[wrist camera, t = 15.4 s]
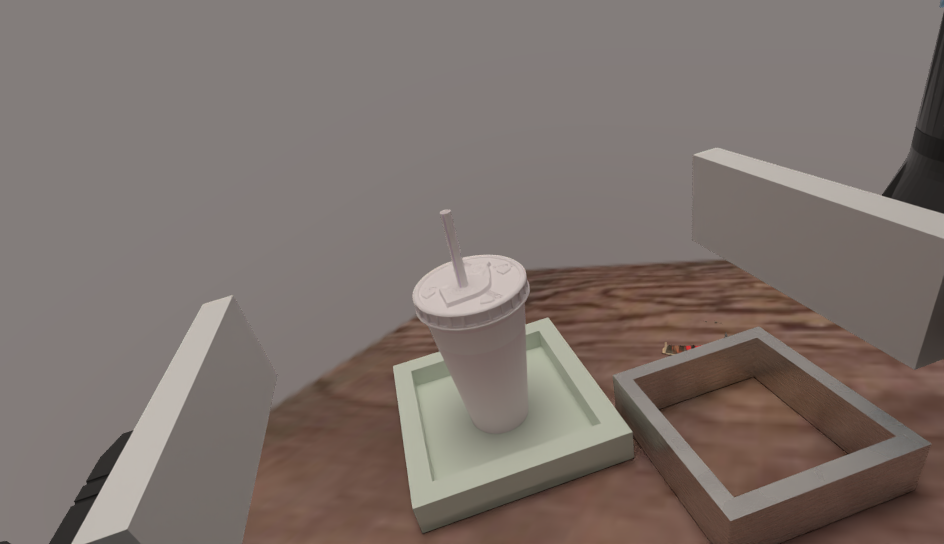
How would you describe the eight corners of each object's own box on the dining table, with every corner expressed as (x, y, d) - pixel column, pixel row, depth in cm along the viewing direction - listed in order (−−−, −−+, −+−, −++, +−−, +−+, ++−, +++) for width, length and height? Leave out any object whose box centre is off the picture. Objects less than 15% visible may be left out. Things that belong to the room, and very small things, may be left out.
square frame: (754, 364, 30) (758, 326, 28) (915, 489, 21) (931, 443, 20) (615, 412, 29) (612, 375, 27) (726, 564, 20) (730, 521, 19)
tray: (551, 338, 36) (548, 317, 35) (634, 457, 26) (632, 431, 25) (400, 386, 35) (392, 366, 34) (422, 533, 24) (412, 509, 23)
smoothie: (432, 438, 29) (362, 234, 23) (476, 369, 34) (429, 185, 27) (528, 463, 26) (479, 237, 20) (563, 385, 31) (533, 181, 24)
